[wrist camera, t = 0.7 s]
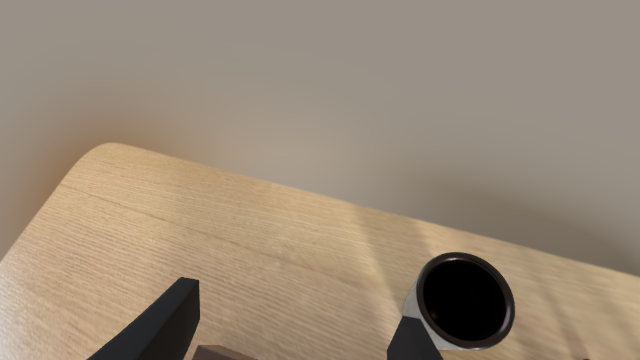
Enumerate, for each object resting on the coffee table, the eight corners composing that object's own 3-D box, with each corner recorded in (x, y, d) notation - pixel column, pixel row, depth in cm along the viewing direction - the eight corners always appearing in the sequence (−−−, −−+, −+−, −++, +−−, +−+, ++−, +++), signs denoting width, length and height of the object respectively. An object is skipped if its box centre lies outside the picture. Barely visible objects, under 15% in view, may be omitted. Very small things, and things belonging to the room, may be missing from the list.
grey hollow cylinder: (390, 305, 25) (397, 281, 16) (436, 275, 25) (467, 235, 16) (428, 362, 22) (460, 371, 13) (477, 327, 23) (539, 314, 14)
